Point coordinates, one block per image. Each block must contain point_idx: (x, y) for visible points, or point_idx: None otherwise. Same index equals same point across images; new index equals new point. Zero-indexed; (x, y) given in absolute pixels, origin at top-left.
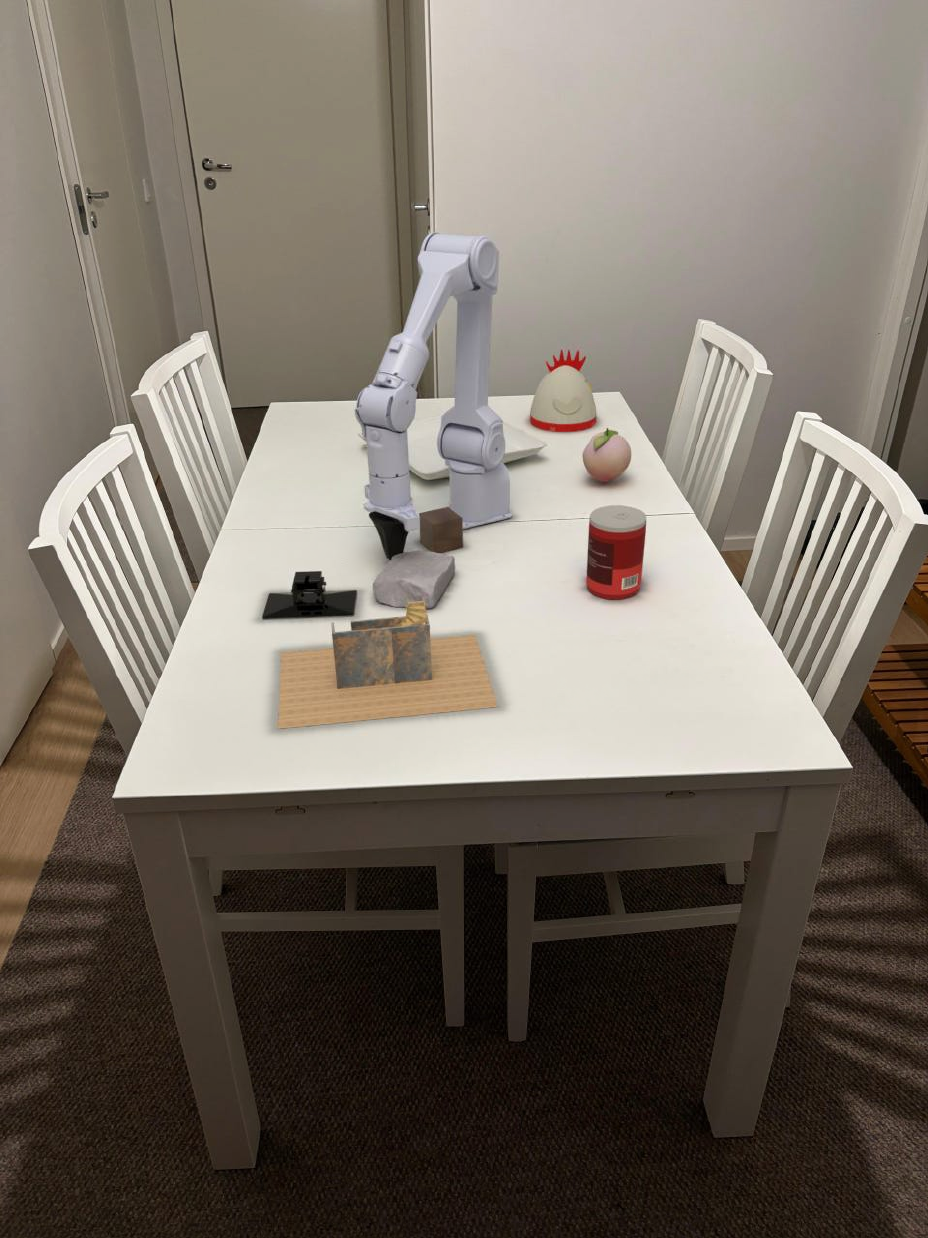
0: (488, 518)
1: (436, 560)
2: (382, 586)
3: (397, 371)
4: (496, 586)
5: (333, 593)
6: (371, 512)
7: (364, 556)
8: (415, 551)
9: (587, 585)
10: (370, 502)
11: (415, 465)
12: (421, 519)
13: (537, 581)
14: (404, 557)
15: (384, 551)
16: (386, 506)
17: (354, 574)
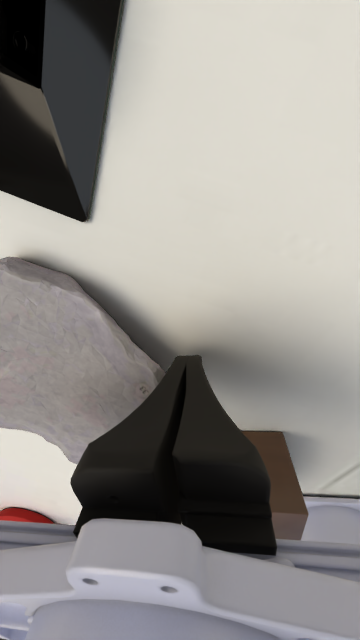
0: None
1: (68, 437)
2: None
3: None
4: (56, 450)
5: (50, 127)
6: (260, 480)
7: (296, 311)
8: None
9: (19, 516)
10: (183, 606)
11: None
12: (287, 497)
13: (61, 487)
14: (131, 391)
15: (196, 364)
16: (33, 626)
17: (201, 250)
